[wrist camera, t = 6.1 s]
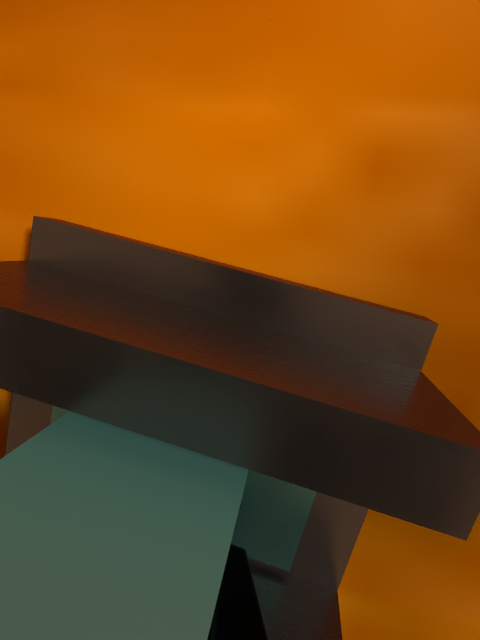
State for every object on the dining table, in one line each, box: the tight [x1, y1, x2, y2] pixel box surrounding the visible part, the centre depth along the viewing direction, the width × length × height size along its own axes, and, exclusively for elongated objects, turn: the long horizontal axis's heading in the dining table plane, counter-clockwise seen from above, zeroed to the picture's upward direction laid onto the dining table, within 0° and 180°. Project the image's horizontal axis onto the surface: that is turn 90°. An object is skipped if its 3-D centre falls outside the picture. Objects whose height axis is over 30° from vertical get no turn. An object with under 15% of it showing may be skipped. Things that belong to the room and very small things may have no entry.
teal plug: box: [0, 411, 249, 640], centre depth 6 cm, size 4×4×7 cm
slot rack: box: [0, 216, 480, 640], centre depth 10 cm, size 18×11×5 cm, turn 166°
